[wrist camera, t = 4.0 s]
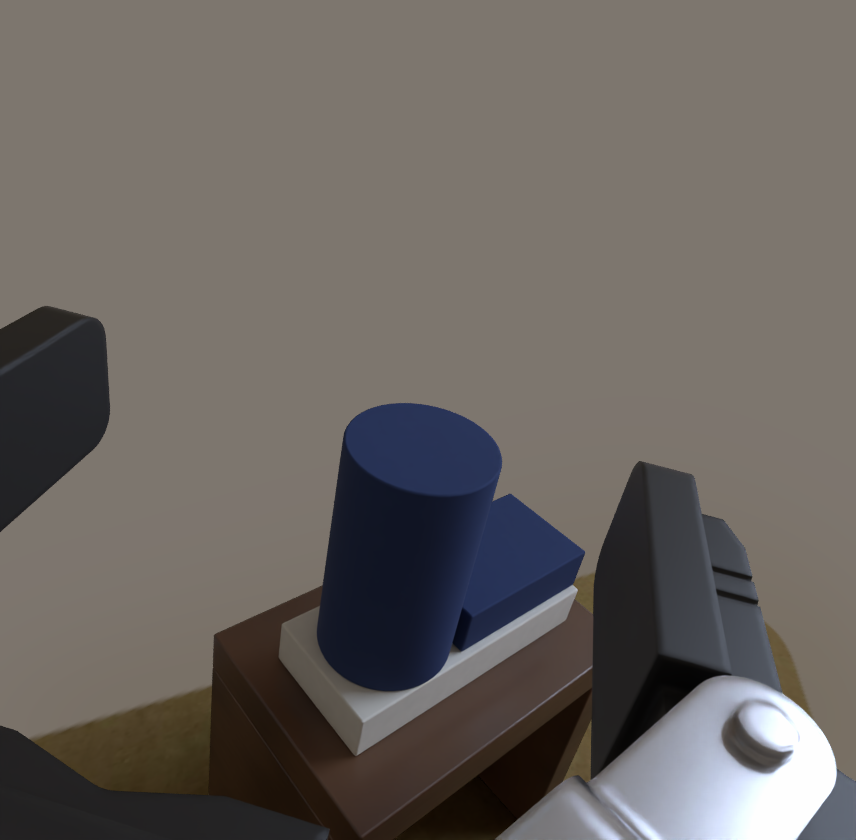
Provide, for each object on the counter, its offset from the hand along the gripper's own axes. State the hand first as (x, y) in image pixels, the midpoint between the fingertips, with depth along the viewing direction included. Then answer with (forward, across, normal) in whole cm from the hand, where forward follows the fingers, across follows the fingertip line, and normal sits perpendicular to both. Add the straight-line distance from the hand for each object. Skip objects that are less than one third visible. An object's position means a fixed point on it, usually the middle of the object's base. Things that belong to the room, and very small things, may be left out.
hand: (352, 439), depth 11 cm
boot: (+13, -2, +18) cm, 23 cm away
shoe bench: (+14, -2, +32) cm, 35 cm away
